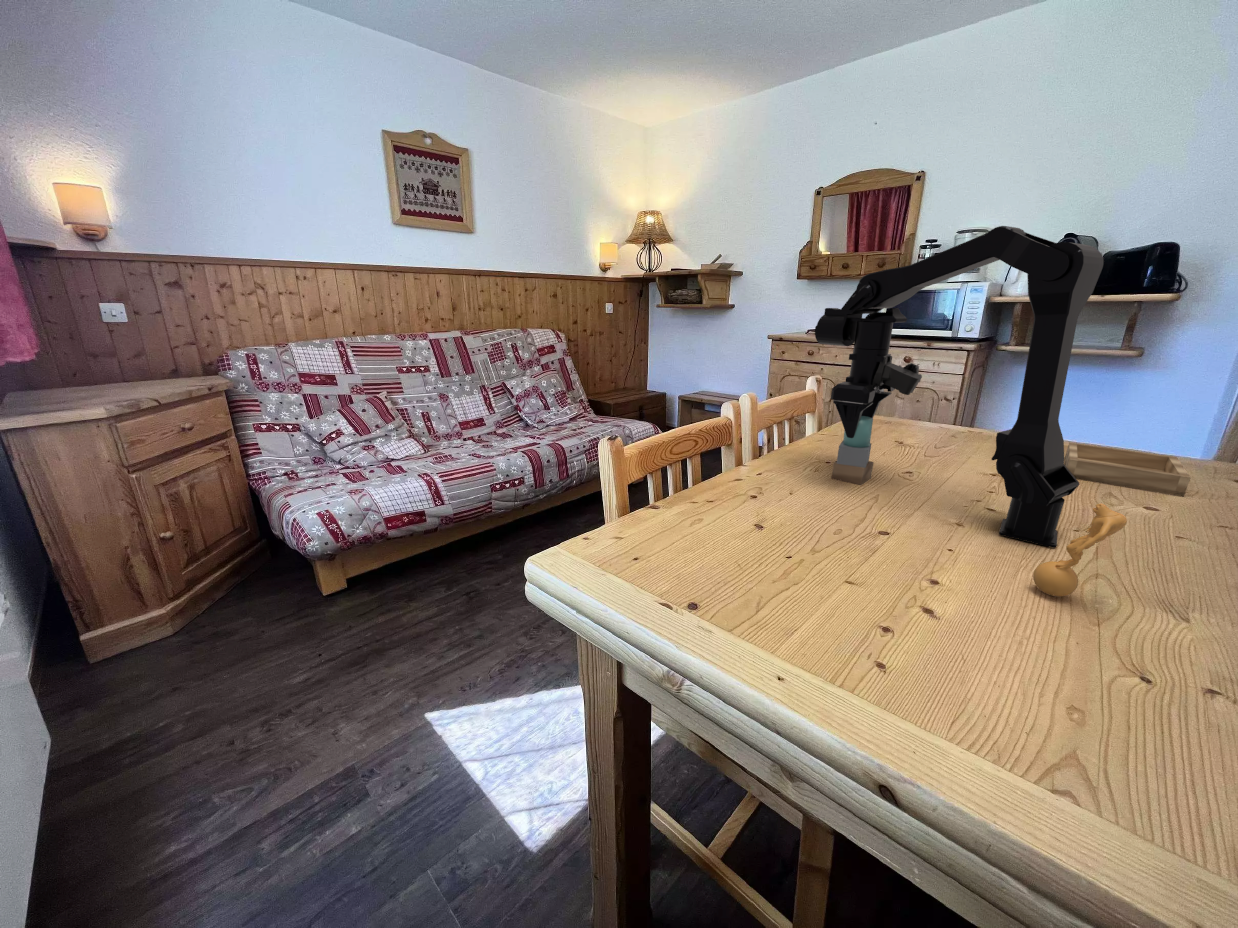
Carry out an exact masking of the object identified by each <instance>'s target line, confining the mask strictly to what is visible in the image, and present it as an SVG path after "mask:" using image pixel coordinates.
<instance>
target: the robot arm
mask: <svg viewBox="0 0 1238 928" xmlns="http://www.w3.org/2000/svg"><path fill="white" fill-rule="evenodd" d="M1103 256H1104V255H1103V254H1102V252H1100V251H1099V250H1098V249H1097V248H1096V247H1095V246H1092V245H1089V244H1082V243H1077V242H1069V241H1065V242H1064V241H1059V242H1055V241H1052V240H1048V239H1046V238H1043V237H1040V236H1036V235H1034V234H1030V233H1028V232H1026V231H1025V230H1024V229H1022V228H1020V227H1014V226H1006V225H1001V226H996V227H994V228H992V229H990V231H988V232H986V233H984V234H981V235H979V236H976V237H974V238H972V239H969V240H967V241H965V242H962V243H960V244H958V245H955V246H953V247H950V248H948V249H945V250H943V251H940V252H938V253H935V254H933V255H931V256H928V257H926V258H924V259H921V260H918V261H917V262H914V263H912V264H909V265H905V266H900V267H895V268H888V269H883V270H879V271H878V270H877V271H874V272H870V273H867V274H865V275H863V276H862V277H861V278H860V279H859V281H858V284H857V286H856V289H855V290H854V291H853V293H852V294H851V296H850V297H849V298H848V300H847V301H846V302H845V303H844V304H843V305H842V307H841V308H839V307H826V308H824V314H823V315H821V316H820V318H819V319H818V321H817V324H816V325H815V326H814V327H815V328H814V336H815V339H816V342H817V343H818V344H820V345H828V346H841V347H850V346H852V345H853V351H852V353H849V355H848V361H851V364H850V369H849V371H850V372H849V375H848V376H846V377H845V381H842V382H840V383H837V384H835V386H834V387H832V388H831V393H830V400H832V402H833V404H834V405H835V408H836V410H837V412H838V415H839V417H840V421H841V424H842V426H843V428H844V430H845V433H846V436H847V437H848V438H854V436H855V433H856V430H857V427H858V424H859V421H860V418H861V416H866V417H871V418H873V419H874V417H875V415H876V412H877V409H878V408H879V406H880V404H881V402H882V401H883V400H884V399H886V398H887V397H890V396H891V394H892V392H893V391H895V390H897V391H898V392H899V393H900V394H903V395H905V396H909V395H910V394H913V392H914V391H915V389H916V388H917V386H918V384H919V383H920V382H921V380H922V378H923V375H922V374H920V373H919V372H920V371H919V370H920V366H919V365H917V364H915V363H912V362H910V363H908V364H906V365H905V366H904V367H903V366H902V365H898V364H894V363H892V361H893V356H892V354H891V353H889V351H890V347H891V339H892V332H893V326H894V324H896V323H906V322H907V320H908V318H907V317H906V316H905V315H904V314H902V312H901V311H900V309H899V307H896V306H897V305H900V304H901V303H903V302H905V301H907V300H909V299H911V298H912V297H914V295H915V294H917V293H918V292H919V291H921V290H923V289H925V288H927V287H929V286H932V285H935V284H938V283H941V282H943V281H946V280H948V279H951V278H954V277H957V276H959V275H963V274H965V273H968V272H970V271H974V270H975V269H980V268H981V267H984V266H987V265H989V264H992V263H995V262H998V261H1001V262H1003V263H1005V264H1007V265H1008V266H1009V267H1012V268H1014V269H1016V270H1018V271H1020V272H1022V273H1026V274H1027V297H1028V299H1029V303H1030V306H1031V310H1032V313H1033V314H1032V315H1033V324H1032V330H1031V336H1030V342H1029V348H1028V353H1027V359H1026V365H1025V371H1024V377H1023V383H1022V390H1021V394H1020V401H1019V407H1018V411H1017V412H1018V413H1017V417H1016V418H1017V419H1016V421H1015V423H1014V425H1013V426H1012V428H1010V429H1007V430H1003V431H1000V432H997V433H996V436H995V437H996V438H995V445H996V446H995V451H994V454H993V456H992V457H991V461H996V462H995V469H996V472H997V474H998V475H1000V477H1001V478H1002V479H1003V482H1004V487H1005V494H1006V496H1007V497H1010V498H1011V500H1010V503H1009V506H1008V507H1009V508H1008V512H1007V514H1006V518H1003V519H1002V521H1001V523H1000V524H1001V525H1000V528H999V530H998V535H1000V536H1002V537H1007V538H1012V539H1015V540H1018V541H1019V540H1020V541H1024V542H1027V543H1028V542H1029V543H1032V544H1036V545H1040V546H1044V547H1049V548H1057V546H1058V530H1057V527H1058V524H1059V521H1060V517H1061V515H1062V510H1063V507H1064V503H1065V501H1066V500H1065V498H1064V497H1066V496H1070V495H1072V494H1073V493H1074V492H1075V490H1076V489H1078V487H1079V485H1080V482H1079V481H1078V479H1076V478H1075V477H1074V476H1073V474H1072V473H1071V472H1070V471H1069V469H1068V468H1067V467H1066V466H1065V444H1064V443H1065V440H1064V437H1063V433H1062V430H1061V426H1060V422H1059V421H1060V420H1059V419H1060V412H1061V407H1062V402H1063V397H1064V392H1065V385H1066V382H1067V375H1068V371H1069V365H1070V360H1071V357H1072V356H1071V355H1072V349H1073V343H1074V339H1075V333H1076V329H1077V324H1078V319H1079V316H1080V315H1081V312H1082V310H1083V309H1084V307H1085V305H1086V303H1088V301H1089V299H1090V297H1091V295H1092V294H1093V292H1094V290H1095V287H1096V285H1097V282H1098V281H1099V278H1100V275H1101V274H1102V270H1103V268H1104V257H1103ZM884 309H888V310H886V311H885V312H884V311H883V312H882V310H884ZM863 315H866V316H865V317H863ZM885 390H887V391H885Z"/></svg>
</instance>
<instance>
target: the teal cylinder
mask: <svg viewBox="0 0 1238 928" xmlns="http://www.w3.org/2000/svg"><path fill="white" fill-rule="evenodd" d="M873 422H874V417H873V418H871V417H866V416H861V418H860V421H859V424H858V427H857V430H856V433H855V436H854V438H848V437H847V436H846V433H845V430H844V433H843V439H842V441H843V444H844V445H847V446H850V447H868V446H870V443H871V438H872V429H873Z"/></svg>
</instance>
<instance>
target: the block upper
mask: <svg viewBox="0 0 1238 928" xmlns="http://www.w3.org/2000/svg"><path fill="white" fill-rule="evenodd" d="M871 449H872V443H871V442H870V446H868V447H850V446H847V445H844V444H843V440H841V443H839V445H838V450H837V459H836V461H837V464H843V465H850V466H856V467H863V468H866V466H867V464H868V461H870V454H871Z"/></svg>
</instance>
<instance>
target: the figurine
mask: <svg viewBox="0 0 1238 928" xmlns="http://www.w3.org/2000/svg"><path fill="white" fill-rule="evenodd" d="M1092 512H1094V513H1095V516H1094V517H1093V519H1092V521H1091V525H1090V527H1088V528H1087V530H1086V531H1085V533H1087V534H1086V535H1085V534H1084V535H1082V536H1080V537H1077V538H1074V539H1072V540H1070V542H1069V544H1067V545H1066V552H1067V553H1068V554H1069V556H1070V559H1067V560H1063V559H1060V560H1058V561H1051V560H1050V561H1045V562H1043V563H1040V564H1038V566H1036V567H1035V569H1034V571H1033V574H1032V580H1033V583H1034V585H1035V586H1036V587H1037V588H1038V589H1039V590H1040V591H1041V592H1042V593H1044V594H1046V595H1049V596H1053V597H1066V596H1070V595H1071V594H1073V593H1074V592H1075V591H1076V590H1077V589H1078V586H1079V576H1078V574H1077V573H1076V571H1075V570H1074V569H1073V568H1072V567H1074V566H1076V565H1078V564H1079V562H1080V560H1081V559H1082V556H1084V555H1083V554H1084V553H1083V550H1088V549H1090V548H1092V547H1094V545H1096V544H1097V543H1099V542H1102V541H1105V540H1106V539H1107V537H1110V536H1112V535H1115V534H1117V533H1118V532H1119V531H1121V530H1122V529H1124V528H1125V526H1126V525H1127V523H1128V519H1127V517H1126V516H1125V515H1124V514H1122V513H1120V512H1117V511H1115V510H1112V509H1110V507H1108V506H1107V505H1105V504H1104V503H1098V504H1095V506H1094V507H1093V508H1092Z"/></svg>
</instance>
